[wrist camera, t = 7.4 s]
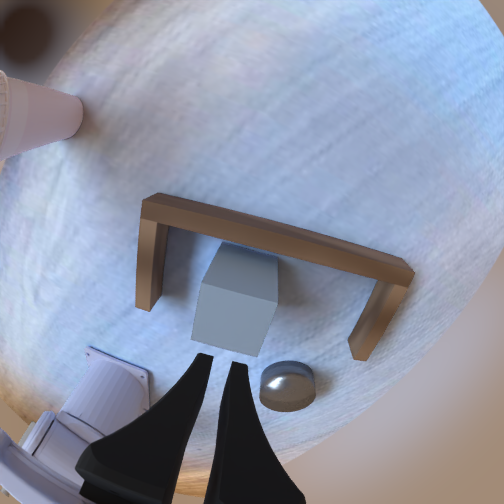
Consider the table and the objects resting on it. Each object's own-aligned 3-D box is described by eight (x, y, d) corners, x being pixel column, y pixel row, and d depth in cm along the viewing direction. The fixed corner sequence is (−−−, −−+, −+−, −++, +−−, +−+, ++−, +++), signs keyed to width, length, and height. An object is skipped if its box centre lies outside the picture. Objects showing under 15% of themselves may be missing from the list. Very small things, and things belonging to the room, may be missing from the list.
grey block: (262, 303, 21) (257, 357, 15) (211, 289, 21) (190, 339, 15) (277, 256, 19) (278, 303, 14) (222, 241, 19) (201, 282, 14)
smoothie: (61, 73, 14) (-73, 66, 2) (109, 91, 15) (-57, 78, 2) (36, 140, 17) (-92, 171, 4) (78, 166, 18) (-73, 218, 5)
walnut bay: (359, 341, 21) (365, 361, 19) (148, 290, 21) (135, 307, 19) (401, 258, 18) (415, 272, 16) (158, 192, 18) (142, 199, 16)
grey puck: (302, 395, 25) (303, 414, 23) (255, 388, 25) (253, 407, 22) (321, 364, 23) (324, 384, 21) (269, 354, 23) (268, 375, 21)
